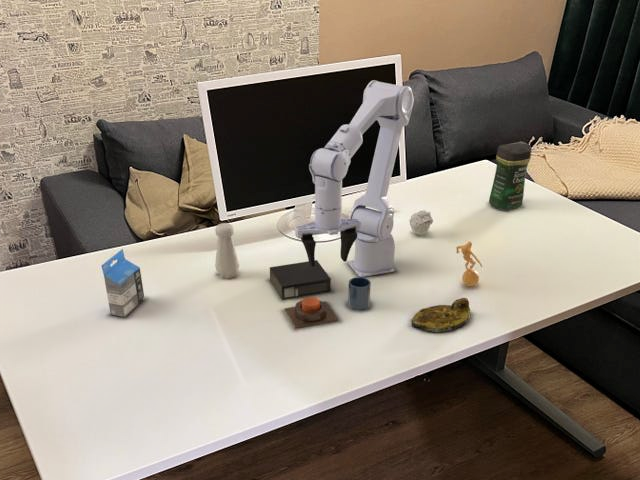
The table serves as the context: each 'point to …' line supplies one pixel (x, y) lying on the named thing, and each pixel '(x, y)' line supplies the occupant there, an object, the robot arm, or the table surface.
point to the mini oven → (299, 279)
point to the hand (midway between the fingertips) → (327, 262)
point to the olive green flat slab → (443, 316)
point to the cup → (359, 293)
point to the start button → (310, 304)
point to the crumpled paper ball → (420, 222)
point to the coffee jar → (510, 175)
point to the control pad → (310, 315)
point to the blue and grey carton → (122, 285)
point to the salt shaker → (226, 252)
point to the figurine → (470, 275)
